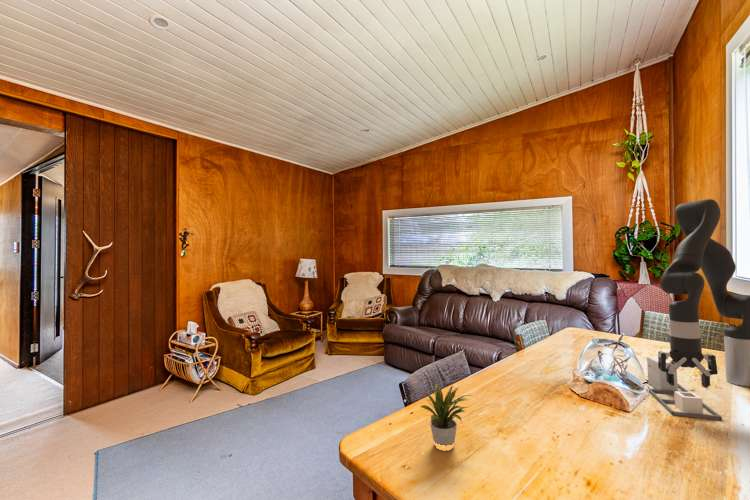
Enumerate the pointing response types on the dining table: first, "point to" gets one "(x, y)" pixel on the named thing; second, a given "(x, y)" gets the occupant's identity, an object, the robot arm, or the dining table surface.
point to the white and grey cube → (688, 402)
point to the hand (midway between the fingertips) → (687, 385)
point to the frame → (663, 401)
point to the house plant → (444, 416)
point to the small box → (659, 375)
